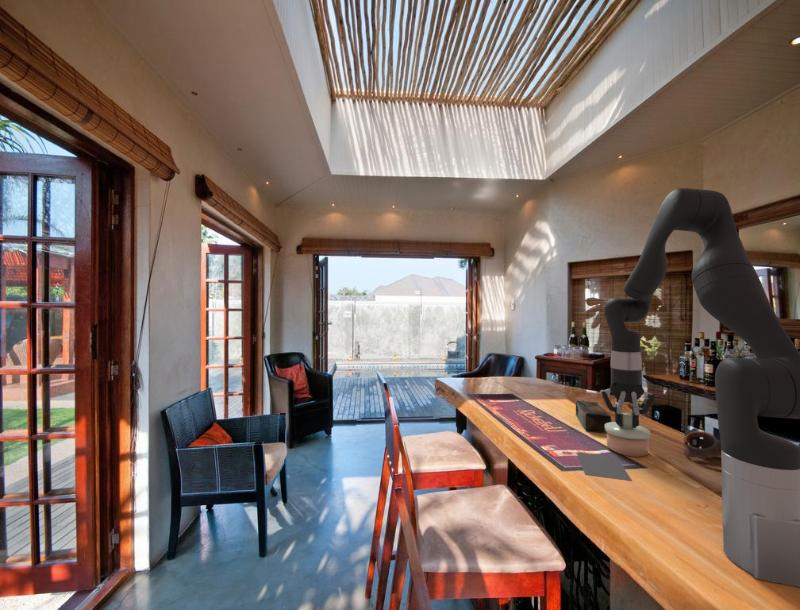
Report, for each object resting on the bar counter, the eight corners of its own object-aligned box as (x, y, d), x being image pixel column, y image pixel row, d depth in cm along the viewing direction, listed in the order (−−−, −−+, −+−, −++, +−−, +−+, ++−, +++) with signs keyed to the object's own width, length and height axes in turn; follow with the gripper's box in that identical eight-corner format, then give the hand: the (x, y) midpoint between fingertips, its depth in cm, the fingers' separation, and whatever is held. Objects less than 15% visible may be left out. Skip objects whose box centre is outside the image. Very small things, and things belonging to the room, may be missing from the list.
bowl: (654, 461, 93) (653, 442, 93) (611, 456, 96) (611, 438, 96) (641, 447, 102) (641, 430, 102) (603, 443, 106) (603, 426, 106)
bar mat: (632, 483, 82) (632, 480, 82) (585, 476, 85) (585, 474, 85) (616, 458, 95) (616, 456, 95) (576, 454, 98) (576, 452, 98)
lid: (656, 441, 92) (656, 422, 92) (609, 436, 96) (609, 418, 96) (642, 428, 103) (642, 410, 103) (601, 424, 106) (600, 407, 106)
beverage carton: (598, 417, 132) (597, 400, 132) (612, 435, 113) (612, 415, 113) (575, 415, 134) (574, 398, 134) (585, 432, 116) (585, 413, 116)
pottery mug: (741, 467, 90) (732, 443, 88) (705, 481, 91) (695, 457, 90) (703, 439, 102) (695, 417, 100) (671, 451, 103) (663, 430, 101)
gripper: (601, 367, 98) (602, 428, 98) (659, 370, 93) (661, 434, 93) (595, 363, 105) (596, 420, 105) (650, 366, 101) (651, 425, 100)
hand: (626, 426), depth 99 cm, fingers closed on lid, 3 cm apart
